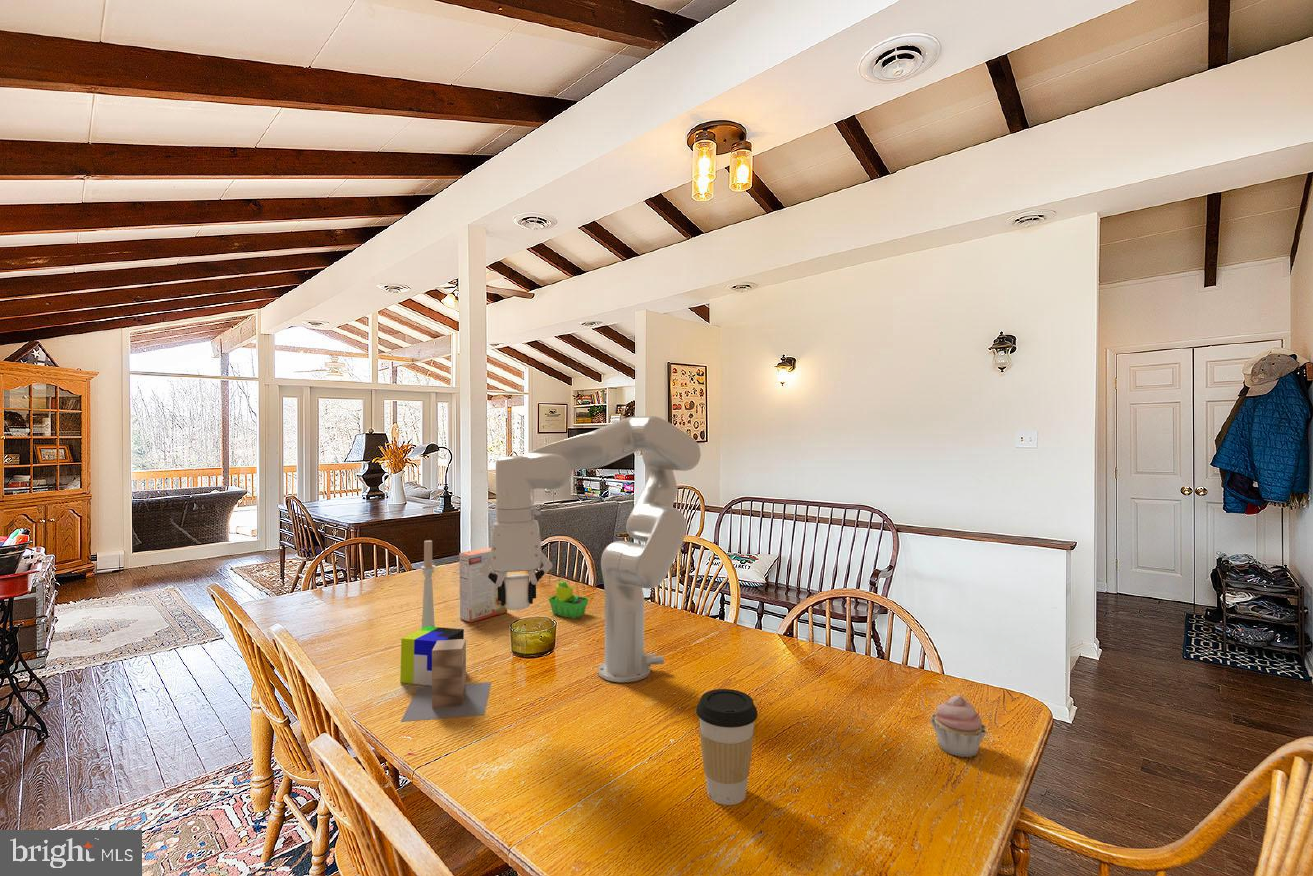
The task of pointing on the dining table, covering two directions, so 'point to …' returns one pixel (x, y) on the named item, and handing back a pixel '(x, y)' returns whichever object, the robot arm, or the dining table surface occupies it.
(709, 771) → the coffee cup
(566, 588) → the fruit basket
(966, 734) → the cupcake
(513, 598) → the ceramic cylinder
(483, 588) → the cracker box
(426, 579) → the candlestick
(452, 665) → the tower top
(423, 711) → the mat
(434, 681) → the block
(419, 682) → the puzzle toy
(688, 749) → the dining table surface
